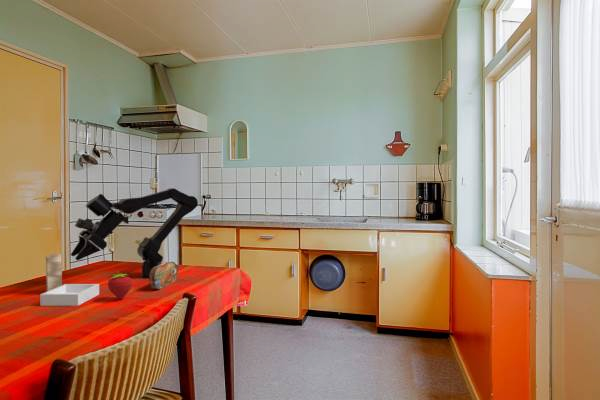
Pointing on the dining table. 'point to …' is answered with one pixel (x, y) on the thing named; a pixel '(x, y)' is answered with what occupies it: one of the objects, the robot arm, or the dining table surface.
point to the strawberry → (120, 285)
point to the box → (69, 295)
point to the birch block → (53, 271)
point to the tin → (163, 275)
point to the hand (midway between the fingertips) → (74, 257)
